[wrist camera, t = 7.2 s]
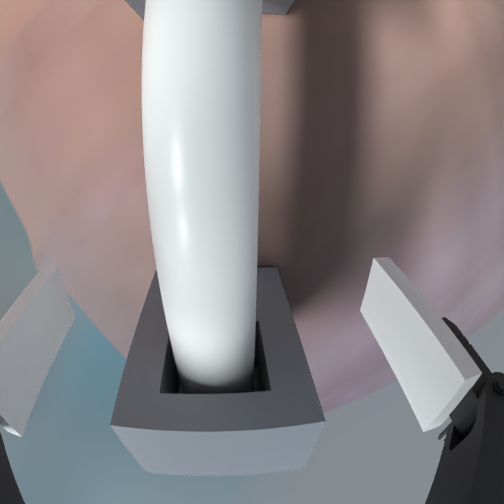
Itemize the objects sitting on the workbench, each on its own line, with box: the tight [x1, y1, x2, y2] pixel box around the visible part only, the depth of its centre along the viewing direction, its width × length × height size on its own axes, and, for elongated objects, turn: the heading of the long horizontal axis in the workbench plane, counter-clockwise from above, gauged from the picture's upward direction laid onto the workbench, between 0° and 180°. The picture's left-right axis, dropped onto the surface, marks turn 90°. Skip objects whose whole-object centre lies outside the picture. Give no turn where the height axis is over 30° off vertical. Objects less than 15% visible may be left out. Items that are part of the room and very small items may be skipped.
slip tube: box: [142, 0, 262, 394], centre depth 10 cm, size 25×4×4 cm, turn 179°
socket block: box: [110, 267, 325, 476], centre depth 17 cm, size 6×9×13 cm, turn 89°
